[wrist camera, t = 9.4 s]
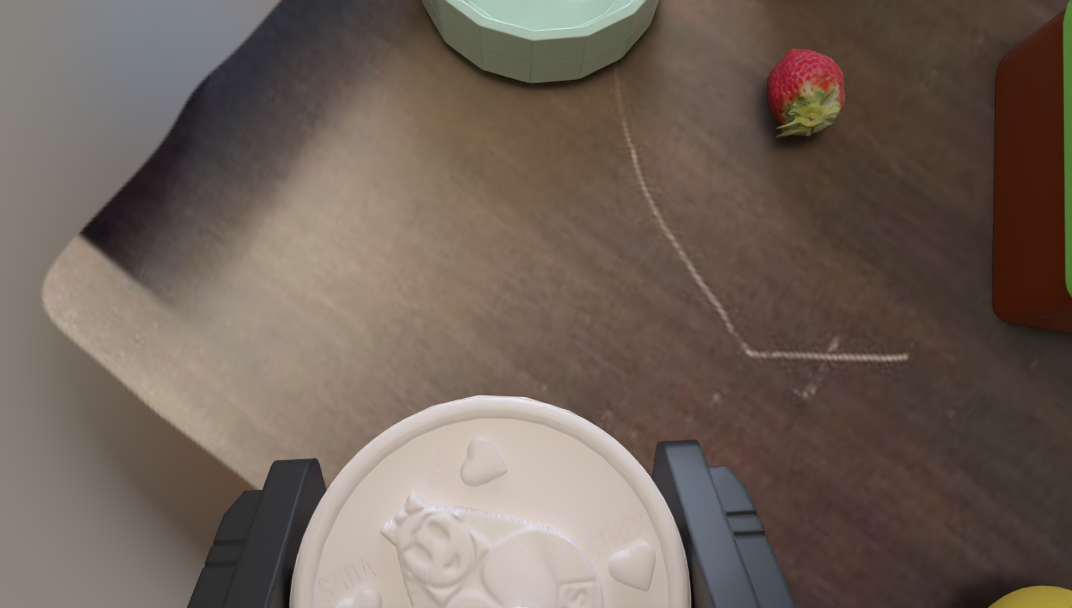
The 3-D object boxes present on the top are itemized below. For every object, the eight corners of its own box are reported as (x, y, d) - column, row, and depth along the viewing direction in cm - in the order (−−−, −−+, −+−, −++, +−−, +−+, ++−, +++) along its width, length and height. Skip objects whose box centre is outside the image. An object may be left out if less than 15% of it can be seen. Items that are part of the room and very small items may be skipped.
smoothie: (511, 688, 19) (533, 1351, 5) (343, 539, 19) (-40, 777, 6) (646, 506, 20) (959, 650, 6) (484, 371, 21) (449, 234, 7)
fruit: (827, 66, 40) (872, 14, 35) (821, 159, 38) (867, 118, 33) (757, 55, 39) (792, 1, 35) (749, 147, 38) (784, 105, 33)
